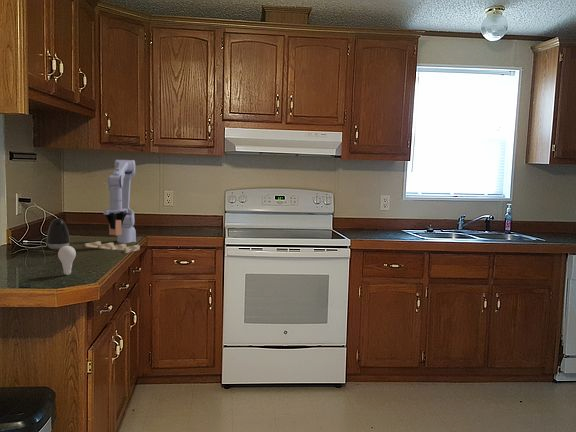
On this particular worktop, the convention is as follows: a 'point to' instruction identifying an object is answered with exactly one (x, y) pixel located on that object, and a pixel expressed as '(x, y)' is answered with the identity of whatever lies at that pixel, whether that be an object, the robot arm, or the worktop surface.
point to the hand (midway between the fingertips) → (116, 228)
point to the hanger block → (116, 229)
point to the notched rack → (113, 246)
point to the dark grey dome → (58, 234)
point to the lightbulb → (67, 258)
